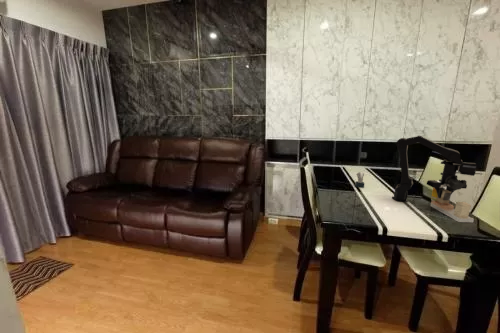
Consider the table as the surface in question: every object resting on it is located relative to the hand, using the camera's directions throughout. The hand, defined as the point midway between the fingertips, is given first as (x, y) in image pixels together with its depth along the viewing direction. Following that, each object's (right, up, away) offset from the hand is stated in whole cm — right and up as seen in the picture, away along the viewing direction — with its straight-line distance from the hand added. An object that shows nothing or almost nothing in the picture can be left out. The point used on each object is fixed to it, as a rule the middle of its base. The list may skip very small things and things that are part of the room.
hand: (443, 198), depth 137 cm
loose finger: (0, -2, +1) cm, 2 cm away
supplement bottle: (+7, -4, +13) cm, 16 cm away
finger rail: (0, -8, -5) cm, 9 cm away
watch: (-31, +3, +38) cm, 49 cm away
